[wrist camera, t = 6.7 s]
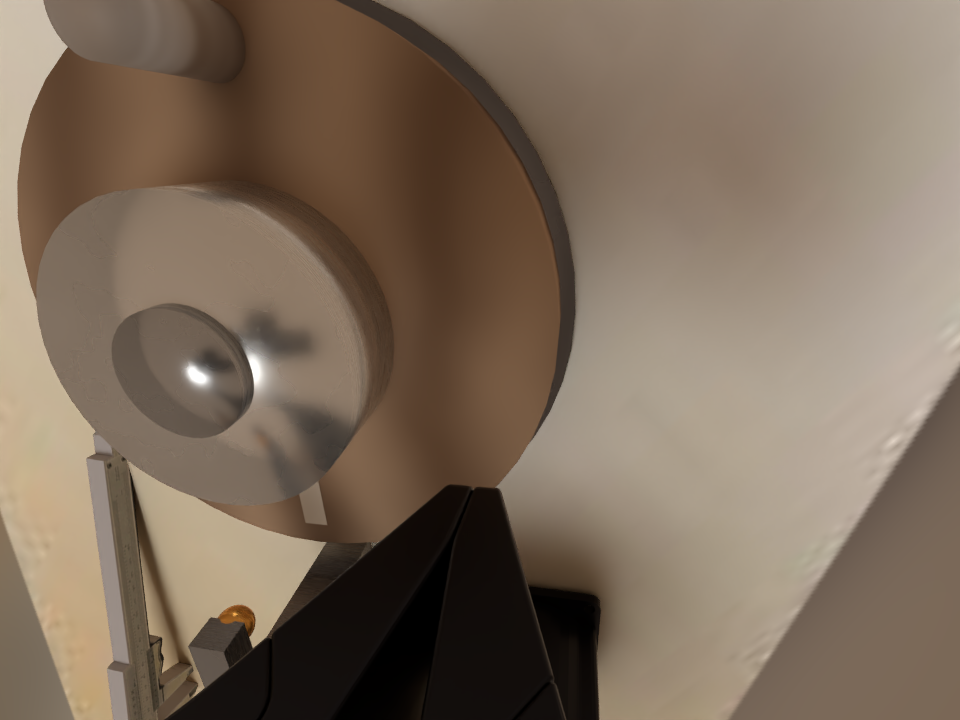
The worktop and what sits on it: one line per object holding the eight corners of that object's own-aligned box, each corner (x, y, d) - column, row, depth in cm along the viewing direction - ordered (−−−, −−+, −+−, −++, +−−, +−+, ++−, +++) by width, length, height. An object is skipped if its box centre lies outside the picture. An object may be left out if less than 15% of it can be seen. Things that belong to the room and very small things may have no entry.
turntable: (572, -36, 13) (568, -162, 8) (553, 532, 21) (545, 664, 16) (-13, 25, 17) (-292, -32, 11) (158, 491, 25) (41, 588, 19)
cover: (375, 174, 15) (306, 184, 11) (408, 455, 18) (365, 532, 15) (94, 185, 16) (-46, 196, 13) (179, 438, 20) (90, 503, 17)
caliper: (202, 684, 33) (125, 796, 27) (188, 680, 33) (108, 791, 27) (120, 425, 25) (-16, 509, 19) (102, 422, 25) (-39, 505, 19)
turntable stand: (591, -54, 13) (613, -361, 5) (562, 591, 23) (554, 831, 15) (-16, 13, 17) (-544, -106, 9) (178, 543, 27) (6, 714, 19)
